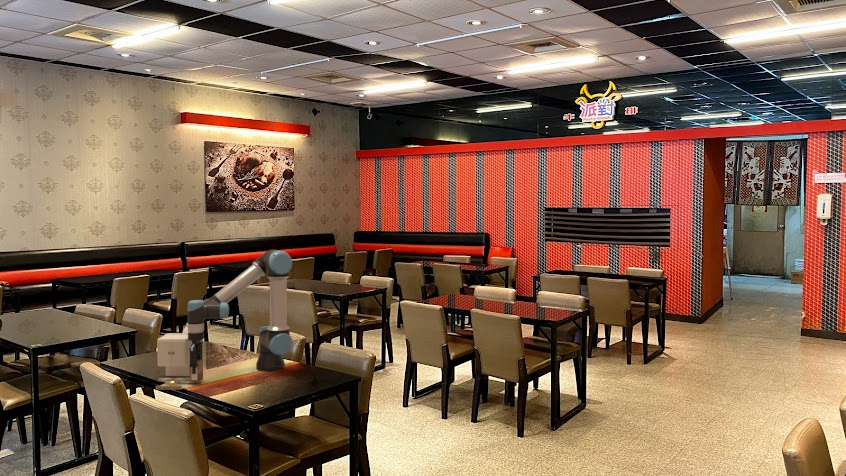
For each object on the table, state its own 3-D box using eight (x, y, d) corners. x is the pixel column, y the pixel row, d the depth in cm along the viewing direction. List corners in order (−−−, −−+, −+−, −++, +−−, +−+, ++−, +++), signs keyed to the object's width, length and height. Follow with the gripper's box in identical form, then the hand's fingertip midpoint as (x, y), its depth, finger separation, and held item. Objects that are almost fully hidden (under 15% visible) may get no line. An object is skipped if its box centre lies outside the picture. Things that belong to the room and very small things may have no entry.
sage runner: (194, 378, 332) (194, 375, 332) (181, 389, 312) (181, 386, 312) (170, 378, 332) (170, 375, 332) (155, 389, 312) (155, 386, 312)
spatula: (203, 379, 325) (202, 359, 325) (199, 382, 320) (199, 362, 320) (160, 379, 325) (160, 359, 324) (156, 382, 320) (156, 362, 319)
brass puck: (180, 384, 321) (180, 379, 321) (176, 387, 315) (175, 382, 315) (168, 384, 321) (168, 379, 321) (163, 387, 315) (163, 382, 315)
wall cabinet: (194, 375, 338) (193, 333, 337) (185, 382, 324) (184, 338, 323) (166, 375, 338) (166, 333, 336) (156, 382, 324) (156, 338, 323)
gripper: (194, 328, 330) (194, 373, 331) (182, 335, 312) (182, 383, 313) (209, 328, 330) (209, 373, 332) (197, 335, 312) (198, 383, 314)
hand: (196, 378), depth 322 cm, fingers closed on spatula, 5 cm apart
